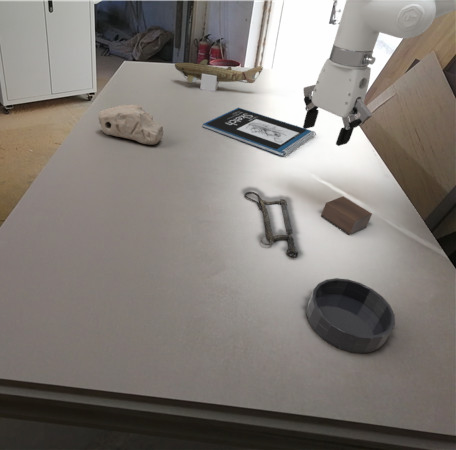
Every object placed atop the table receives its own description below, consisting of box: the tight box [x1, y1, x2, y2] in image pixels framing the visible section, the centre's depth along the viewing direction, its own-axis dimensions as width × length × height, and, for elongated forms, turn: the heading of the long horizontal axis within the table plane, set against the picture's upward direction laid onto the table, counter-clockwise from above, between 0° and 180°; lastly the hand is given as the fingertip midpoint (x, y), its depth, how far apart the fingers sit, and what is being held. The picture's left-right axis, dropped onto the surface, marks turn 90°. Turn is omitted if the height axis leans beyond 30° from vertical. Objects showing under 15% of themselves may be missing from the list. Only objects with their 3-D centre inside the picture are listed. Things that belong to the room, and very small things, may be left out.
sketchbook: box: [202, 107, 317, 158], centre depth 132 cm, size 22×30×2 cm
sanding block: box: [320, 195, 373, 236], centre depth 93 cm, size 6×8×4 cm
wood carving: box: [174, 59, 264, 92], centre depth 161 cm, size 9×35×11 cm, turn 70°
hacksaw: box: [244, 191, 299, 258], centre depth 92 cm, size 24×10×2 cm, turn 172°
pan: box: [306, 277, 396, 354], centre depth 69 cm, size 13×13×4 cm
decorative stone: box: [98, 104, 164, 146], centre depth 122 cm, size 20×8×10 cm, turn 67°
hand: (324, 135), depth 92 cm, fingers open, 9 cm apart
